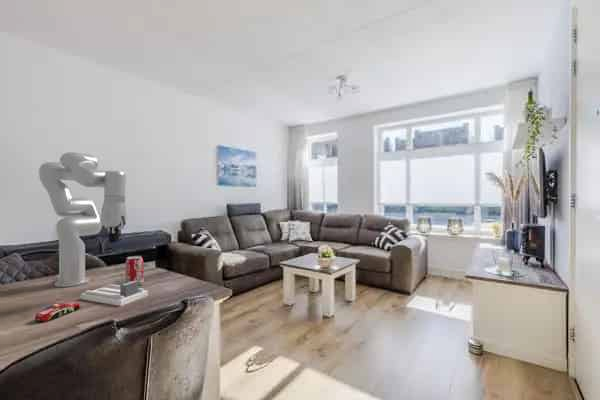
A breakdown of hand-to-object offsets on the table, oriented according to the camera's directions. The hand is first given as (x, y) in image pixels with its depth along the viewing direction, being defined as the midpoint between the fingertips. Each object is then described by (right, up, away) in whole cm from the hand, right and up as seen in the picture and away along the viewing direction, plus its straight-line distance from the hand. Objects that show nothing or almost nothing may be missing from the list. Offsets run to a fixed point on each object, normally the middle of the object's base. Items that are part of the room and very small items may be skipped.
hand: (113, 242), depth 120 cm
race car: (-3, -22, -23) cm, 32 cm away
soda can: (+3, -22, +10) cm, 24 cm away
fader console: (+5, -22, -6) cm, 23 cm away
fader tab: (+12, -19, -9) cm, 25 cm away
